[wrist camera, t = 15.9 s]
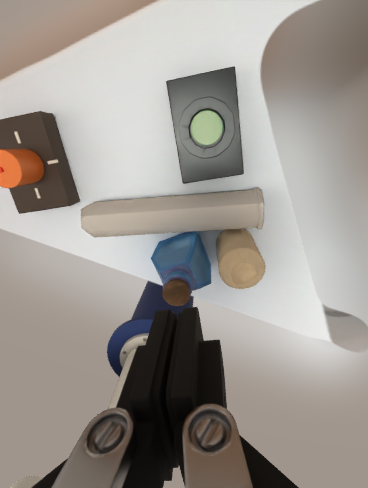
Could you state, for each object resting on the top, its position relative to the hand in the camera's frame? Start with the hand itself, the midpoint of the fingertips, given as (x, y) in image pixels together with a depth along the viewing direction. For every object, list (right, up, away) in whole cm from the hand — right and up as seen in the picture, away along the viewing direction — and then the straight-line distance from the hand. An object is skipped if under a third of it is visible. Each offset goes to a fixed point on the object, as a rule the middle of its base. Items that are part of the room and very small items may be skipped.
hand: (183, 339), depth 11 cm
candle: (+8, +4, +29) cm, 30 cm away
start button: (+3, +17, +20) cm, 27 cm away
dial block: (-21, +15, +27) cm, 37 cm away
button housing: (+3, +19, +23) cm, 30 cm away
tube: (-2, +9, +28) cm, 29 cm away
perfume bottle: (0, +3, +30) cm, 30 cm away
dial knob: (-21, +14, +24) cm, 35 cm away
